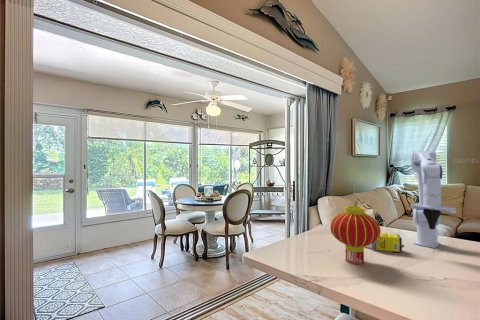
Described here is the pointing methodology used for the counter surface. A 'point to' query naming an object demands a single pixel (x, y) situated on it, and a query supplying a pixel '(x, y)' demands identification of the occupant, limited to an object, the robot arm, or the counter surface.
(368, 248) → the rubber mat
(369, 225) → the lantern
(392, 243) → the supplement box
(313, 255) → the counter surface
